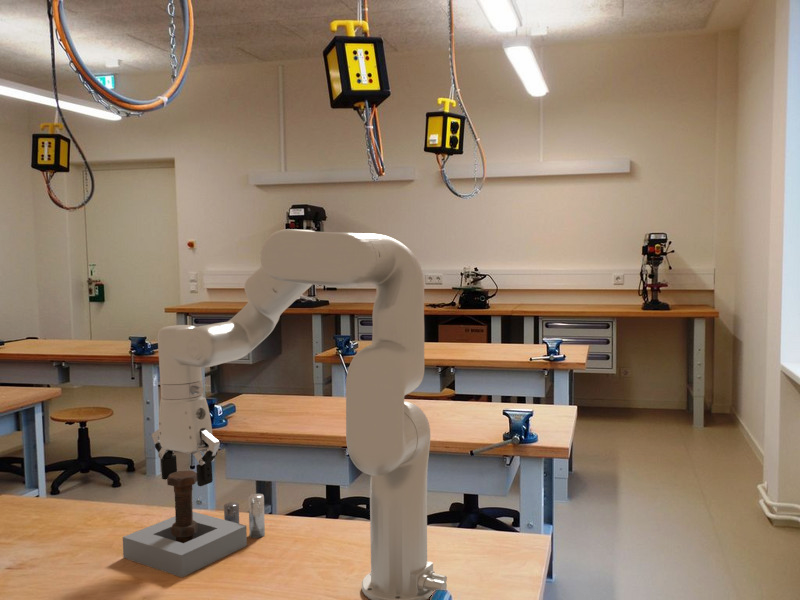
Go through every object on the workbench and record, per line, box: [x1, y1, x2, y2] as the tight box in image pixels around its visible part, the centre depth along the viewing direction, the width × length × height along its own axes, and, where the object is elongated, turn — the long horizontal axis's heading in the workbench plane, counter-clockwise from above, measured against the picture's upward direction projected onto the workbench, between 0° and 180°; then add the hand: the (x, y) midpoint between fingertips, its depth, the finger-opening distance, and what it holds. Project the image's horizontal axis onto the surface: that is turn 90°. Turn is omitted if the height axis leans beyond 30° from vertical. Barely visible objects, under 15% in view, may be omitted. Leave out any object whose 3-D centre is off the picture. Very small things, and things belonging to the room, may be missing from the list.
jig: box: [122, 511, 248, 578], centre depth 138 cm, size 16×16×4 cm
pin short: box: [223, 501, 240, 524], centre depth 150 cm, size 3×3×5 cm
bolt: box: [166, 470, 197, 543], centre depth 138 cm, size 6×5×15 cm
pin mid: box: [248, 493, 266, 539], centre depth 146 cm, size 3×3×8 cm
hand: (187, 480), depth 137 cm, fingers open, 9 cm apart
